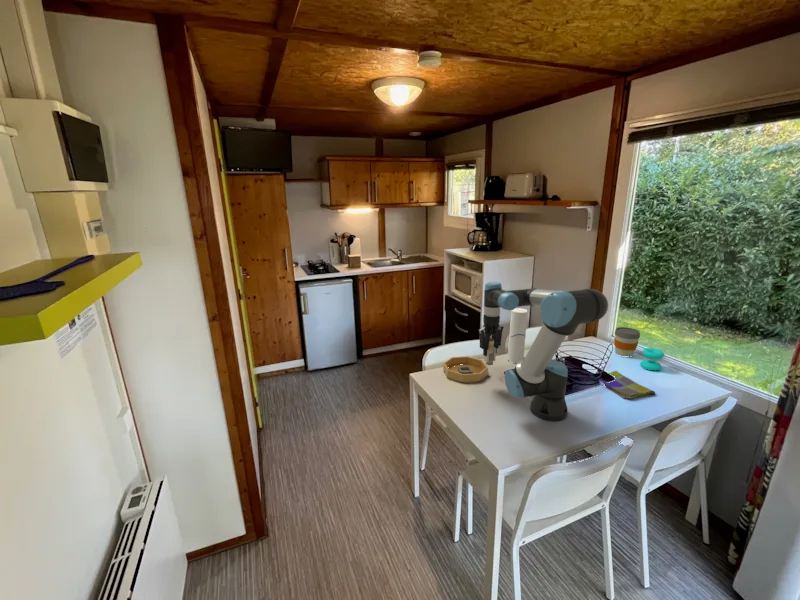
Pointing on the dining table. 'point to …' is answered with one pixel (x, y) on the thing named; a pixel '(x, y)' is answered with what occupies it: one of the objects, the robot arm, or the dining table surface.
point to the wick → (491, 351)
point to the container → (517, 335)
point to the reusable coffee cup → (626, 341)
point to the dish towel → (627, 387)
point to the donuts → (652, 354)
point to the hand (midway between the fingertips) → (489, 360)
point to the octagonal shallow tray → (465, 369)
